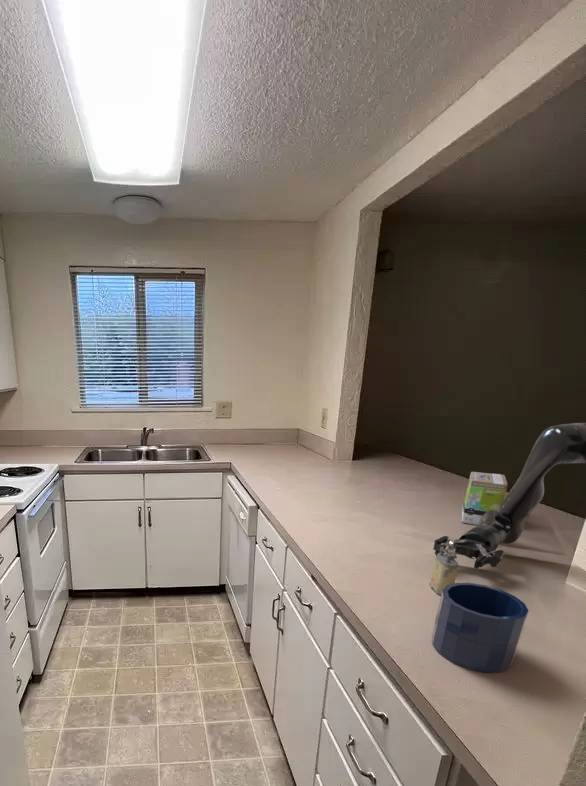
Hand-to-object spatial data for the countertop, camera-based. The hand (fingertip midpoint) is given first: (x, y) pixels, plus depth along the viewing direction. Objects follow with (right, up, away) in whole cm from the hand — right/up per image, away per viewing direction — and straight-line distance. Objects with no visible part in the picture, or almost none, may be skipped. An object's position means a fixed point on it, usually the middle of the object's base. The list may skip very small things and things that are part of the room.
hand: (456, 558), depth 106 cm
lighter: (-5, -7, -2) cm, 9 cm away
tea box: (+34, +10, +42) cm, 55 cm away
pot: (-13, -15, -24) cm, 31 cm away
